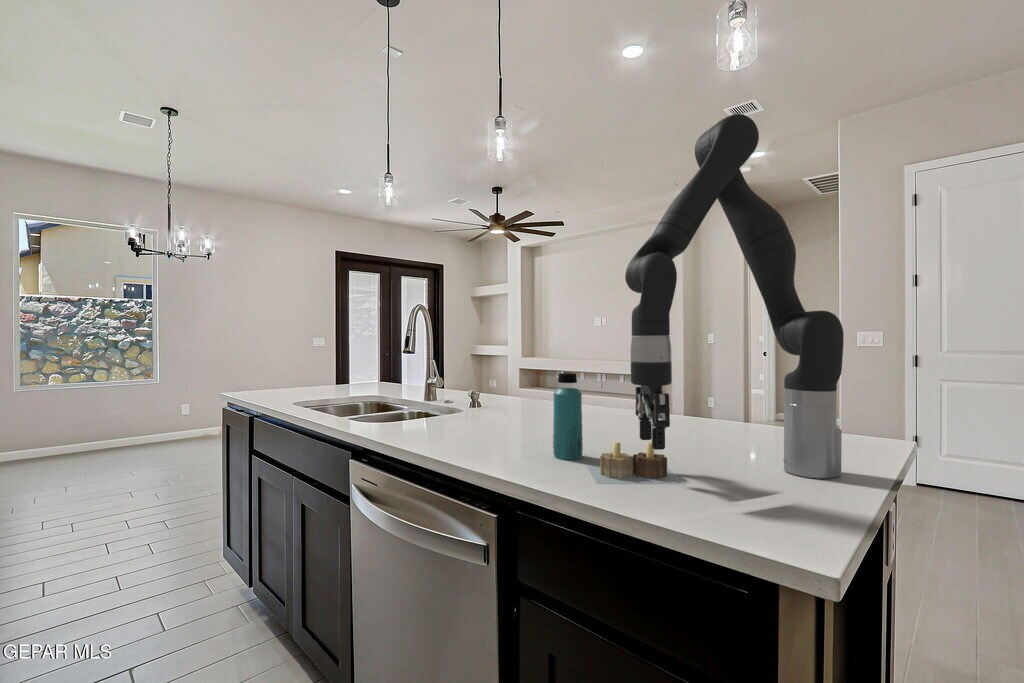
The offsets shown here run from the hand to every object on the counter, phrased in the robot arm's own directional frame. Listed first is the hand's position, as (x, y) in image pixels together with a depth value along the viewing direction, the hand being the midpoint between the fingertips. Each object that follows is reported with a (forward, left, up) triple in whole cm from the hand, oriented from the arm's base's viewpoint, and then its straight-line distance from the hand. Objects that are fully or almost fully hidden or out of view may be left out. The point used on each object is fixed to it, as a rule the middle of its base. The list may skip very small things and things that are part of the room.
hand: (651, 444), depth 93 cm
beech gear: (+7, 0, -6) cm, 9 cm away
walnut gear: (0, 0, -6) cm, 6 cm away
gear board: (+4, 0, -7) cm, 8 cm away
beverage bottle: (+15, -14, -8) cm, 22 cm away
